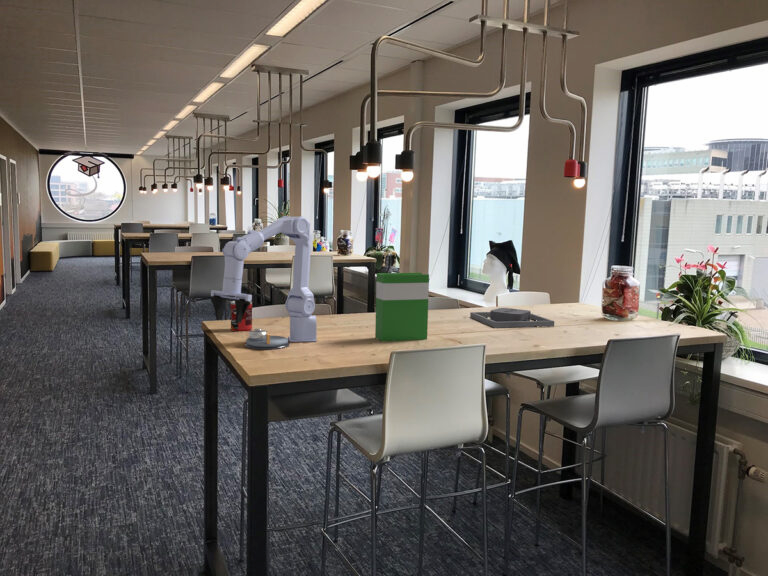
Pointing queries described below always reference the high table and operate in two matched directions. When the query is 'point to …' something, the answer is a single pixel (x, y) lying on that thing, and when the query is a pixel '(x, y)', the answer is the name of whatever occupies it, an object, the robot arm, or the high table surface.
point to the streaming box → (509, 315)
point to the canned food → (246, 320)
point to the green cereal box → (401, 306)
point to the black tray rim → (540, 322)
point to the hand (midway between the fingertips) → (228, 321)
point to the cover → (257, 335)
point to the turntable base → (266, 347)
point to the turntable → (268, 341)
